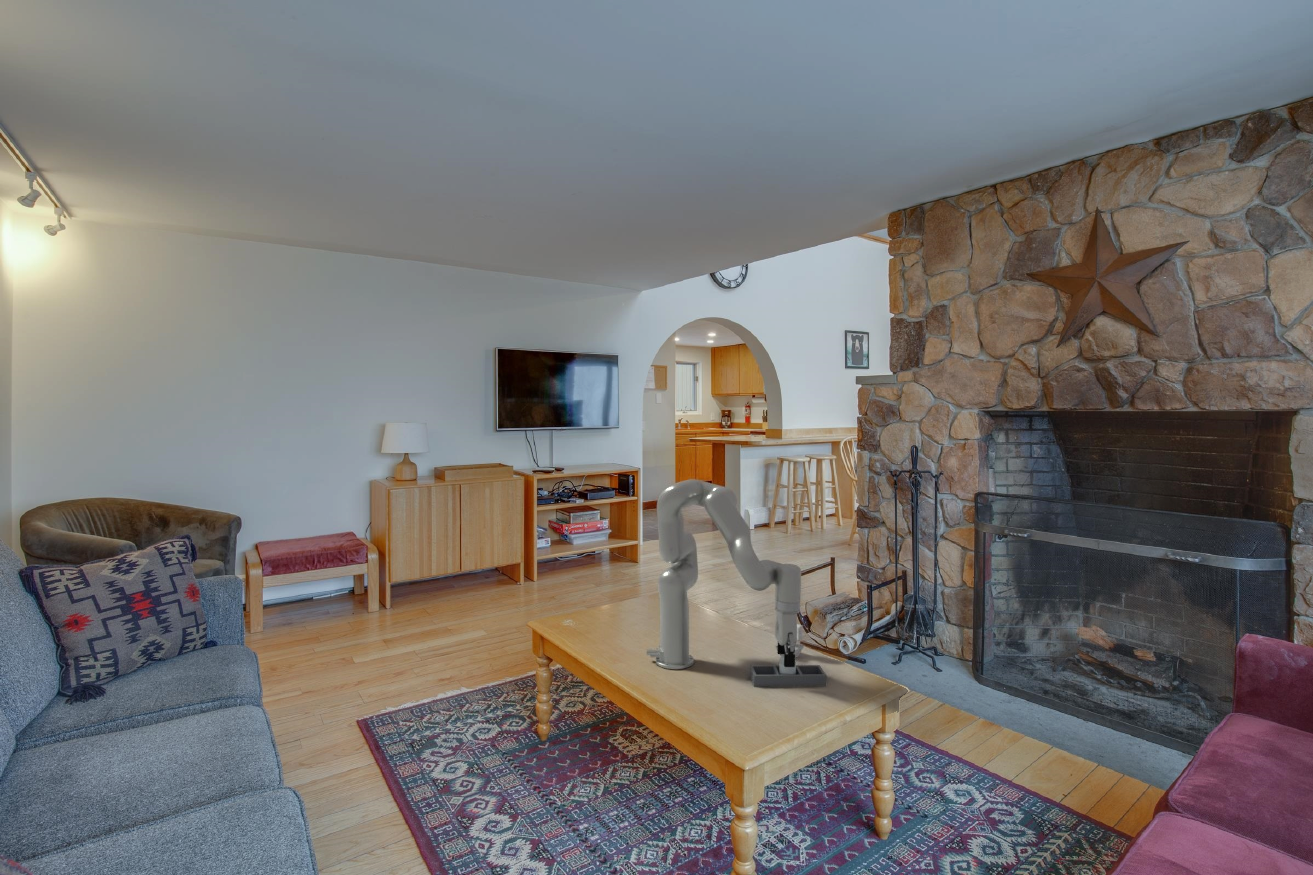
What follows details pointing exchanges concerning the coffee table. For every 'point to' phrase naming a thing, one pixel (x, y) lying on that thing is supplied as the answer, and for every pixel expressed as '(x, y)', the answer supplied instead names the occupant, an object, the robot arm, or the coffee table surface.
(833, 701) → the coffee table surface
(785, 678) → the grey compartment tray
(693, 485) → the robot arm
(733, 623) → the coffee table surface
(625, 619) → the coffee table surface
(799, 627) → the figurine
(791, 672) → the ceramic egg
